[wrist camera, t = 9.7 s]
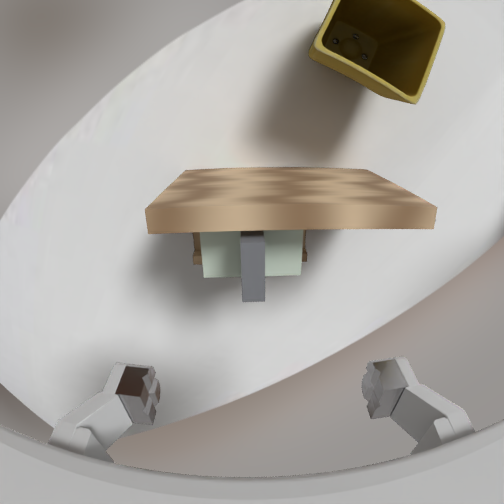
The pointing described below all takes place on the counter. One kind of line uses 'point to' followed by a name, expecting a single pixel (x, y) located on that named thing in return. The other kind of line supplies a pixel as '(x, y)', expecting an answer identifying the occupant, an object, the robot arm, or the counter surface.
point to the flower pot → (381, 45)
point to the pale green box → (252, 257)
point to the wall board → (284, 202)
